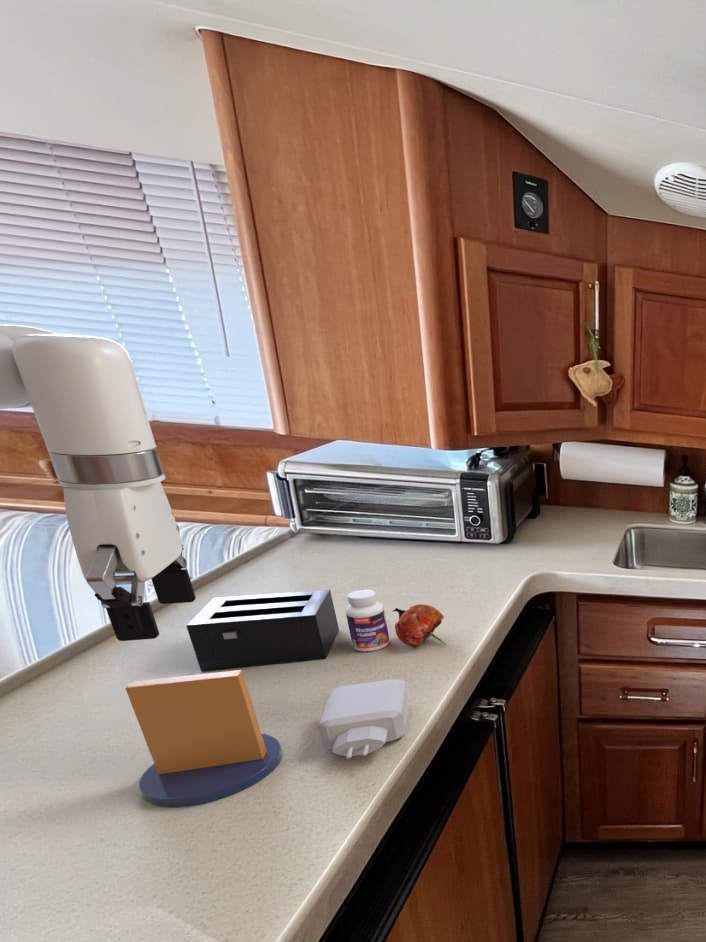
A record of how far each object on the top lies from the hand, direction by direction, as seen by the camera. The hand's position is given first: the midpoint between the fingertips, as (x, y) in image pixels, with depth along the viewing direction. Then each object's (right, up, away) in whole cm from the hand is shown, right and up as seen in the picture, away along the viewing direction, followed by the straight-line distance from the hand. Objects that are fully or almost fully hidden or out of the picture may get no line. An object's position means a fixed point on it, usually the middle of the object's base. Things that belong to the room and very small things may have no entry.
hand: (159, 619), depth 71 cm
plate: (-1, -19, +8) cm, 21 cm away
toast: (-1, -18, +7) cm, 19 cm away
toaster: (-16, -6, +35) cm, 39 cm away
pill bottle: (-3, -6, +39) cm, 40 cm away
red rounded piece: (+5, -6, +42) cm, 42 cm away
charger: (+12, -17, +16) cm, 26 cm away
